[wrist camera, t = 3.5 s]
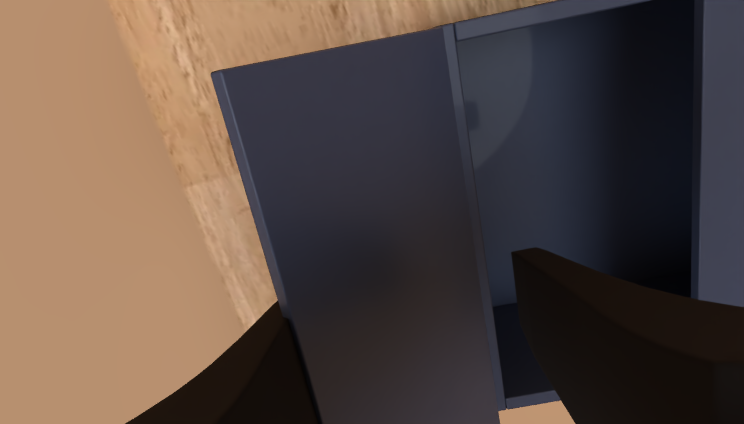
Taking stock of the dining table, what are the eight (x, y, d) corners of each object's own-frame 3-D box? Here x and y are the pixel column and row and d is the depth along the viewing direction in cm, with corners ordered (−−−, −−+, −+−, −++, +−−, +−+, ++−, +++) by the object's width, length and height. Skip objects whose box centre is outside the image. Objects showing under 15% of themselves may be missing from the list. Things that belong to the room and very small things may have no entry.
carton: (734, 266, 22) (898, 362, 15) (459, 316, 23) (498, 429, 16) (747, -37, 18) (978, -91, 11) (413, 34, 19) (439, 25, 12)
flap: (370, 588, 12) (360, 578, 12) (501, 427, 16) (490, 423, 16) (219, 70, 8) (209, 73, 8) (443, 25, 12) (431, 29, 12)
